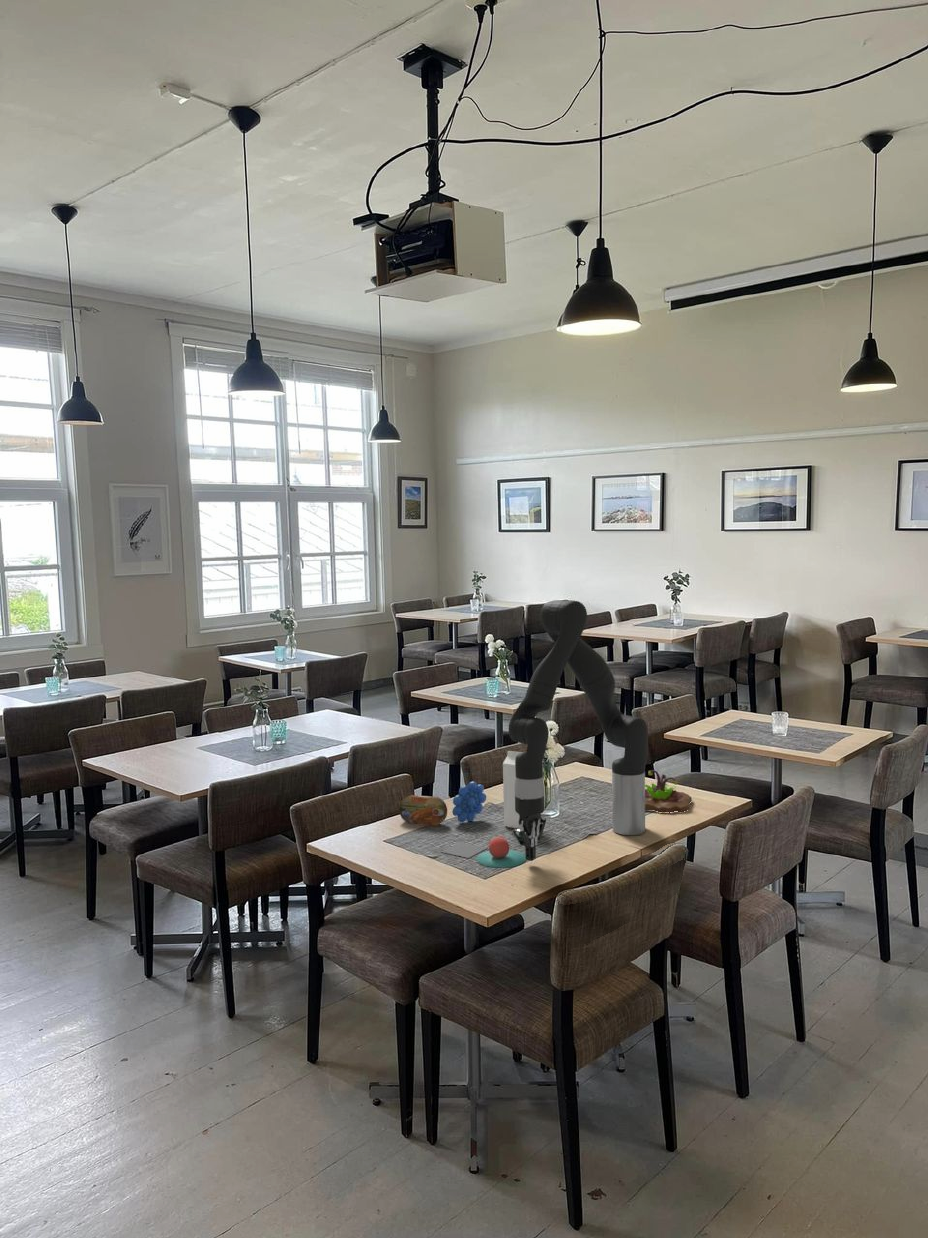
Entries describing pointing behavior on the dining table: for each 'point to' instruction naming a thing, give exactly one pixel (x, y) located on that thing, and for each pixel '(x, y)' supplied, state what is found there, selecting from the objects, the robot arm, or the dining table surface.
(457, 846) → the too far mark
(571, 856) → the dining table surface
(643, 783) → the robot arm
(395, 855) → the dining table surface
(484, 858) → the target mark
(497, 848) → the ball
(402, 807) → the tin
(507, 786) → the milk
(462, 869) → the dining table surface
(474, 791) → the grapes
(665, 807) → the plant
